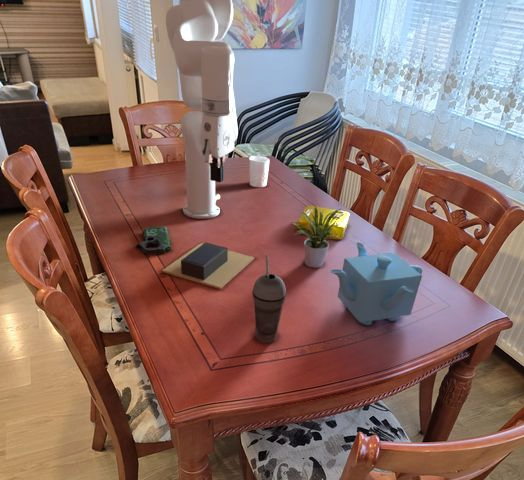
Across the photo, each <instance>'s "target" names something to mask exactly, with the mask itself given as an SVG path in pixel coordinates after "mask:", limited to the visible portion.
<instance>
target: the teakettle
mask: <svg viewBox="0 0 524 480" xmlns="http://www.w3.org/2000/svg"><path fill="white" fill-rule="evenodd" d="M355 245H356V248H357V251H358V256H353V257H345V258H343V264H342V268H341V269H337V268H336V269H330V270H329V272H330V273H331V274H334V275H335V276H337V278H338V283H339V284H338V285H339V286H338V292H337V298H338V299H339V300H340V301H341V303H342V304H343V305H344V306H345V307H346V308H347V310H348V311H349V312H350V313H351V314H352V315H353V316H354V318H355V319H356V320H357V321H358V323H360V324H362V325H365V326H371V325H372V324H373V321H378V320H379V321H380V320H385V319H386V320H388V321H391V322H396V321H398V319H399V317H404V316H410V315H411V314H412V312H413V308H414V305H415V302H416V299H417V294H418V291H419V287H420V284H421V282H422V278H423V275H422V274H423V268H422V267H421V266H419V265H415V264H409V263H408V262H407V261H405V260H404V259H403V258H402V257H401V256H399V255H398V254H397V253H396V252H389V253H379V254H378V253H377V254H370V255H369V254H368V253H367V249H366V247H365V246H364V244H363V243H362V242H356V244H355Z"/></svg>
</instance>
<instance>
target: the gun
mask: <svg viewBox="0 0 524 480" xmlns="http://www.w3.org/2000/svg"><path fill="white" fill-rule="evenodd" d="M142 238H143V241H141V242H138V243H136V245H135V246H136V247H135V248H138V249H139V250H141V252H142V253H144V254H147V255H157V254H163V255H165V253H168V252H170V251H171V250H172V246H171V245H172V242H171V239H170V237H169V231H168V228H167V227H166V226H165V225H163V226H162V225H161V226H160V225H159V226H148V227H145V228H144V230H143V231H142ZM152 246H156V247H155V248H148V247H152Z"/></svg>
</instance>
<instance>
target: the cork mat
mask: <svg viewBox="0 0 524 480" xmlns="http://www.w3.org/2000/svg"><path fill="white" fill-rule="evenodd" d="M203 244H204V243H202V242H201V243H199V244H197V245H196V246H194V247H193V248H192V249H190V250H188V251H187V252H186V253H184V254H183V255H181V256H180V257H179V258H177V259H176V260H175V261H173V262H172V263H170V264H169V265H168V266H166V267H165V268H163V269H162V273H164V274H168V275H171V276H175V277H178V278H180V279H184V280H188V281H191V282H194V283H198V284H201V285H205V286H208V287H211V288H215V289H218V290H222V289H223V288H224V287H225V286H226V285H227V284H229V283H230V282H231V281H232V280H233V279H234V278H235V277H236V276H237V275H239V273H241V272H242V271H243V270H244V269H245V268H246V267H247V266H249V264H250V263H252V262H253V261H254V260H255V256H251V255H247V254H243V253H240V252H237V251H232V250H229V249H228V260H227V262H226V263H224V264H223V265H222V266H221V267H220V268H218V269H217V270H216V271H215V272H213V273H212V274H211V275H210V276H209V277H207V278H206V279H205V280H201V279H197V278H194V277H191V276H187V275H184V274H181V260H182V259H183V258H185V257H186V256H188V255H189V254H190V253H192V252H193V251H195V250H196V249H197V248H199V247H200V246H202V245H203Z"/></svg>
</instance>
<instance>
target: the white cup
mask: <svg viewBox="0 0 524 480" xmlns="http://www.w3.org/2000/svg"><path fill="white" fill-rule="evenodd" d="M269 168H270V158H269V157H267V156H264V155H252V156H250V157H248V173H249V175H248V176H249V186H251V187H254V188H265V187H266V186H267V185H268V184H267V183H268V176H269Z"/></svg>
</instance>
